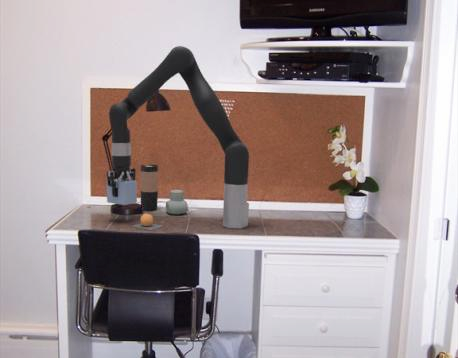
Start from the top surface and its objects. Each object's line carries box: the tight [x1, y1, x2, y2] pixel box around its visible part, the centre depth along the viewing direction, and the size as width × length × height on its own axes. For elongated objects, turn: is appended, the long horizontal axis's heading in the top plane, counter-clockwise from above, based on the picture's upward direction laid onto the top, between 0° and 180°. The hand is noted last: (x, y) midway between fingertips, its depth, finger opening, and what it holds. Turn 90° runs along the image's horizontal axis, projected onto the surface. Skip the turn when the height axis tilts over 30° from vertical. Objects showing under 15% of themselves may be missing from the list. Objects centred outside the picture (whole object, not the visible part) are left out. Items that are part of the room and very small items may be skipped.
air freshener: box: [165, 189, 189, 216], centre depth 222 cm, size 11×8×10 cm
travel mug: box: [140, 163, 159, 212], centre depth 227 cm, size 8×8×20 cm
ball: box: [139, 213, 154, 227], centre depth 198 cm, size 5×5×5 cm
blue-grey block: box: [106, 179, 138, 206], centre depth 203 cm, size 10×7×9 cm
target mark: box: [131, 223, 165, 231], centre depth 198 cm, size 10×8×1 cm
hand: (121, 195), depth 204 cm, fingers closed on blue-grey block, 6 cm apart
